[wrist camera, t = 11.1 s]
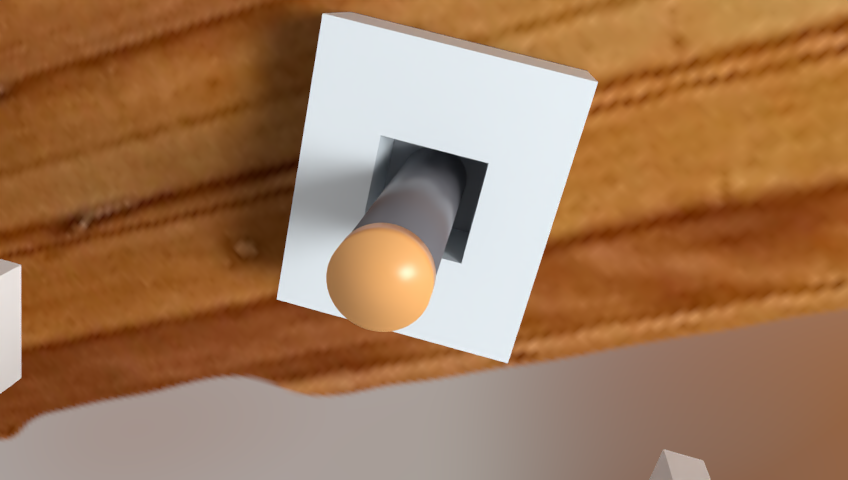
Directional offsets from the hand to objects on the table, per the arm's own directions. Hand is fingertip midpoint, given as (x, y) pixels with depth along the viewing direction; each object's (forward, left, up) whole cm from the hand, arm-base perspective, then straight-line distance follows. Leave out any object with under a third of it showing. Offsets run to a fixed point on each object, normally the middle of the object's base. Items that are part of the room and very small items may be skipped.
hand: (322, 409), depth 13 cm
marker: (0, -1, -22) cm, 22 cm away
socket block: (0, -1, -23) cm, 23 cm away
